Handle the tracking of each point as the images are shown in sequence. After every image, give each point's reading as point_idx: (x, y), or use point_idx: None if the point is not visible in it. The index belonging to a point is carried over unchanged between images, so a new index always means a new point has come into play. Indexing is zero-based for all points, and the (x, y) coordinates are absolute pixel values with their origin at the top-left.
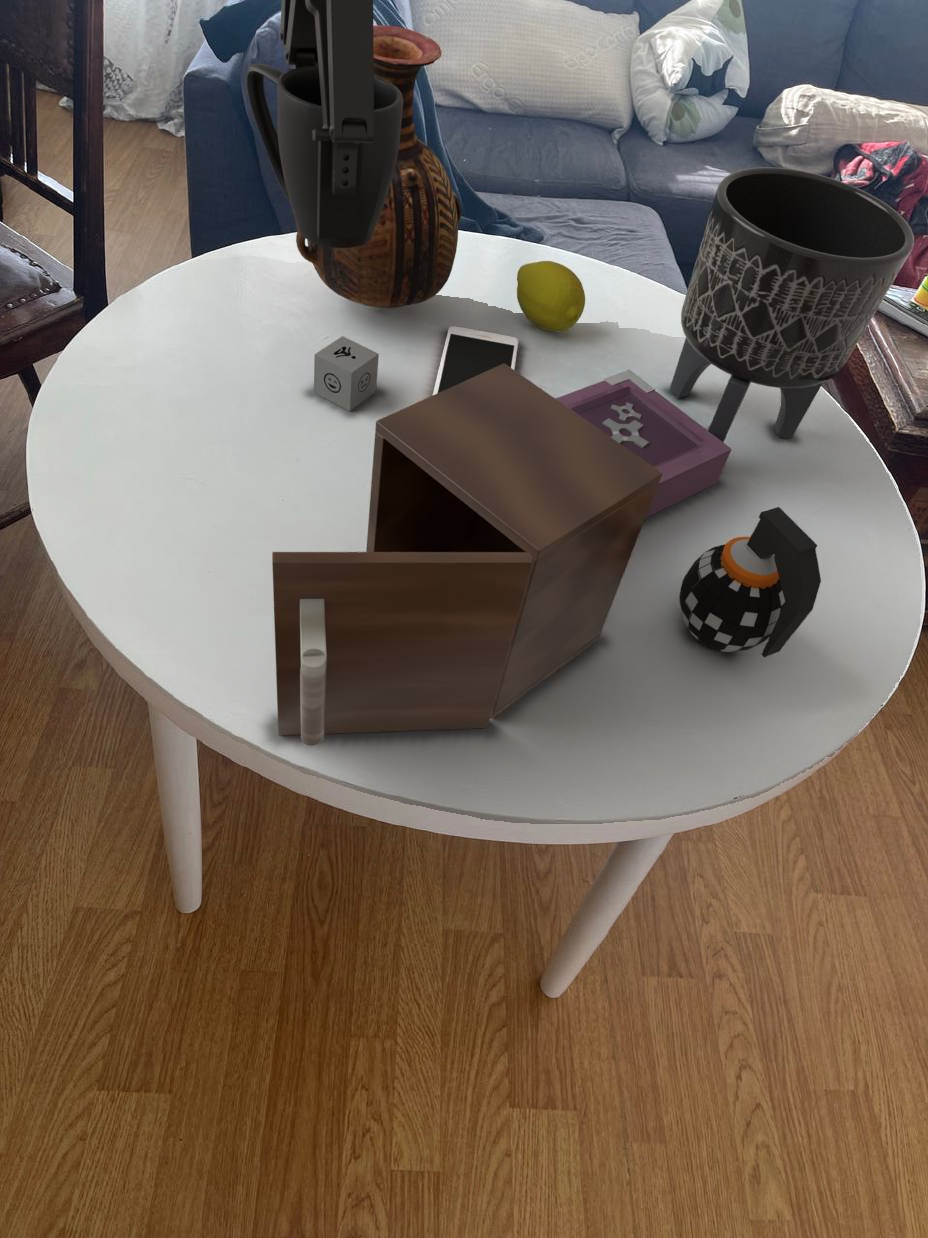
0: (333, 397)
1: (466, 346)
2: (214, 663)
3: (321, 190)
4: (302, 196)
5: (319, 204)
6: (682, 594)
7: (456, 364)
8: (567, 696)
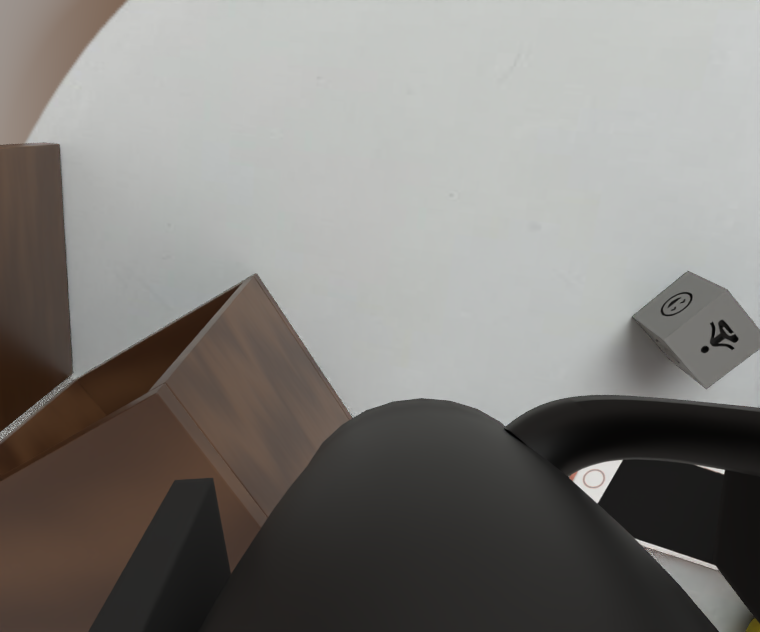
0: (661, 298)
1: None
2: (157, 72)
3: (95, 619)
4: (294, 495)
5: (132, 564)
6: None
7: (699, 484)
8: None
